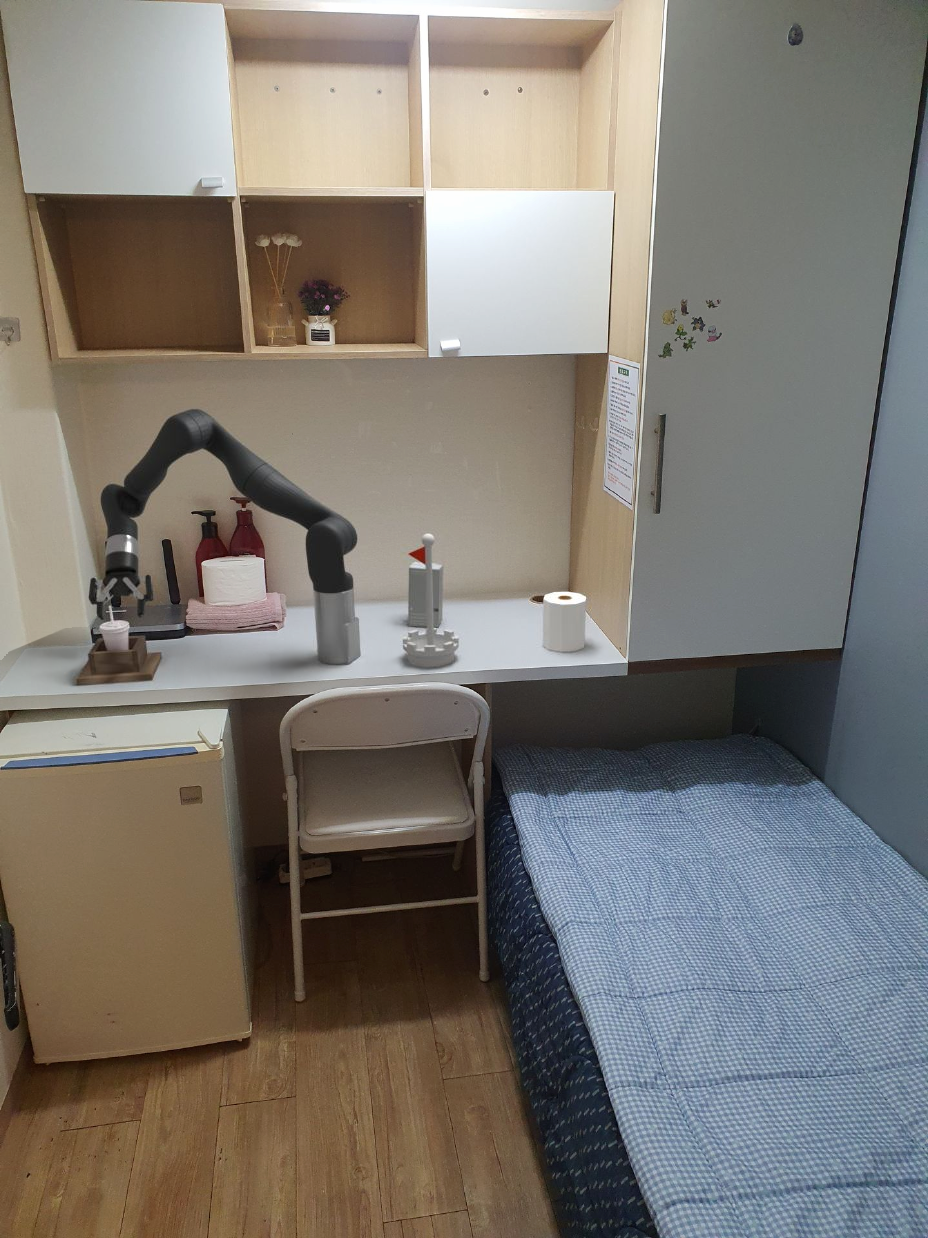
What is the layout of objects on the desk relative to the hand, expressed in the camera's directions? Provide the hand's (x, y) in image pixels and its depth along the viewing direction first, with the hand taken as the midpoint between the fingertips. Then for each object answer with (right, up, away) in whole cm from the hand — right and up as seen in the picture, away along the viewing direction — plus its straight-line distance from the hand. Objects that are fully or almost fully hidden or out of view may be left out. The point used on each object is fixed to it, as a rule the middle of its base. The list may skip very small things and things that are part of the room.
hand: (120, 617), depth 213 cm
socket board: (+2, -12, -6) cm, 14 cm away
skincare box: (+71, -2, +24) cm, 75 cm away
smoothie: (+2, -11, -6) cm, 13 cm away
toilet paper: (+105, -7, +7) cm, 106 cm away
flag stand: (+73, -10, 0) cm, 74 cm away
